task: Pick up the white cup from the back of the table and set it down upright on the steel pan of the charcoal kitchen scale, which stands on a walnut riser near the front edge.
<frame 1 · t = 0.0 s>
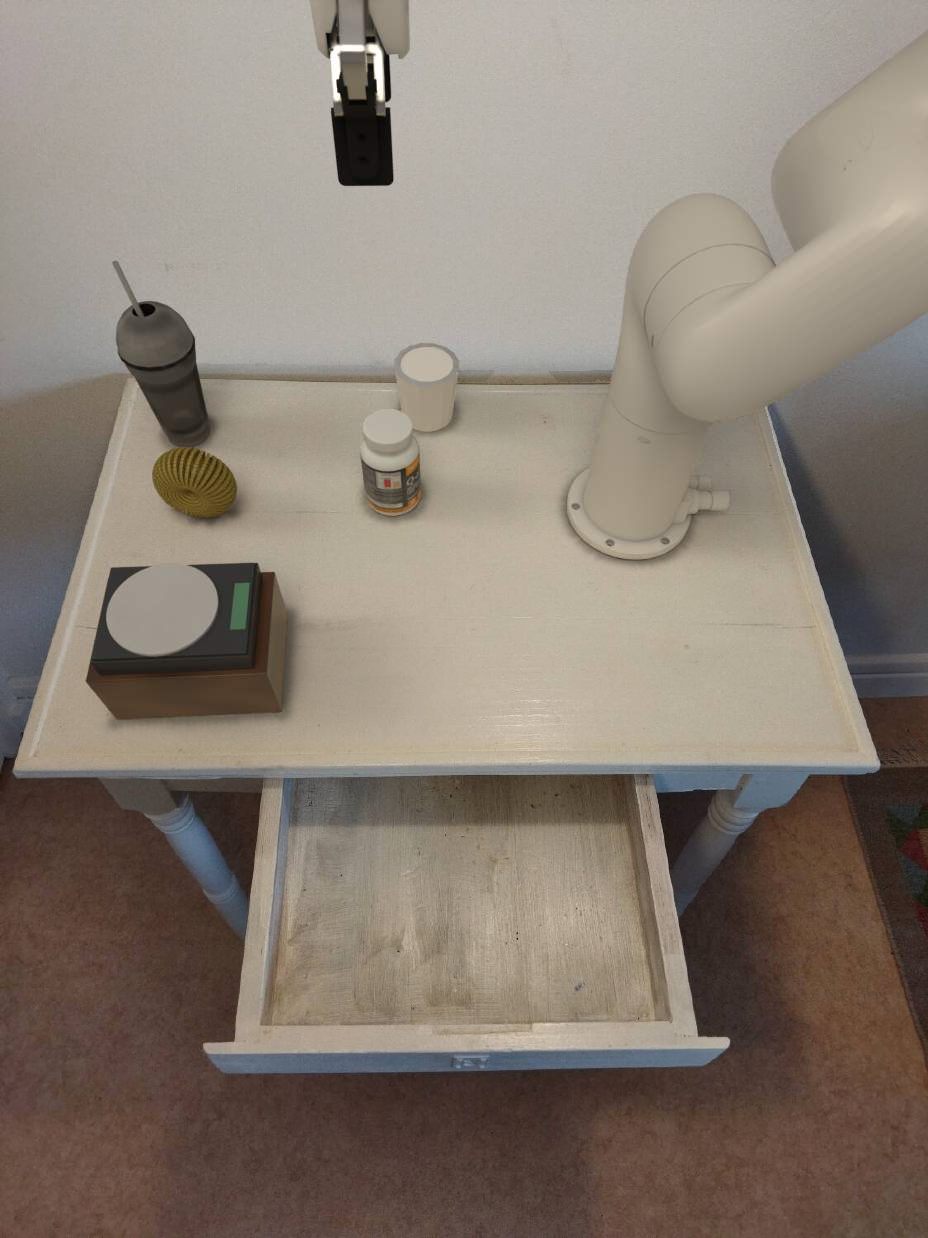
hand: (366, 139, 48), 37 cm above the table, tool pointing down, fingers open, 9 cm apart
pill bottle: (393, 498, 81), on the table
white cup: (427, 415, 88), on the table
walnut riser: (205, 665, 70), on the table
kitchen scale: (184, 623, 64), resting on walnut riser
sculpture: (206, 511, 80), on the table
beverage cup: (189, 434, 85), on the table
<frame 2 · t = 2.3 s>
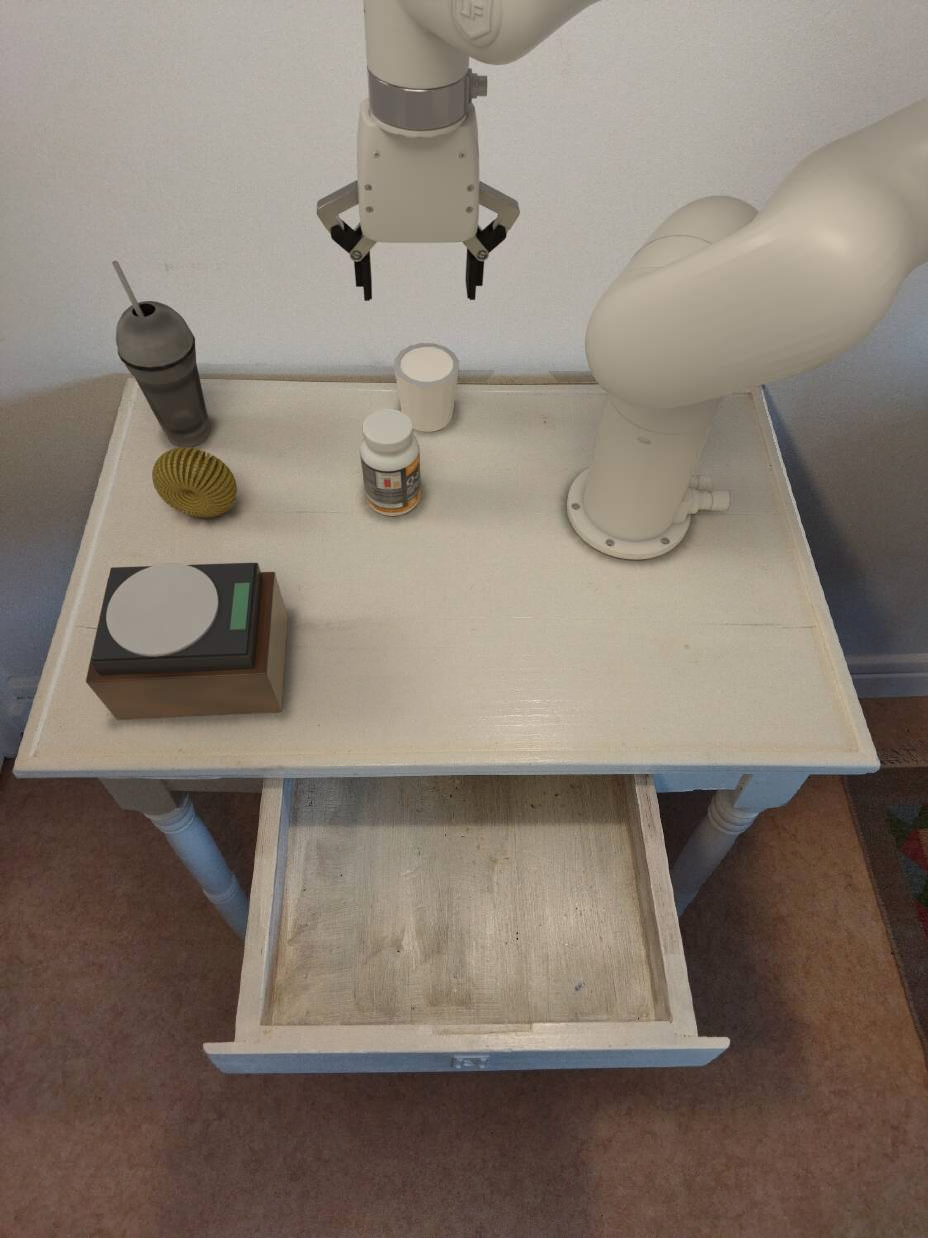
hand: (419, 291, 74), 16 cm above the table, tool pointing down, fingers open, 9 cm apart
nothing on the table moved.
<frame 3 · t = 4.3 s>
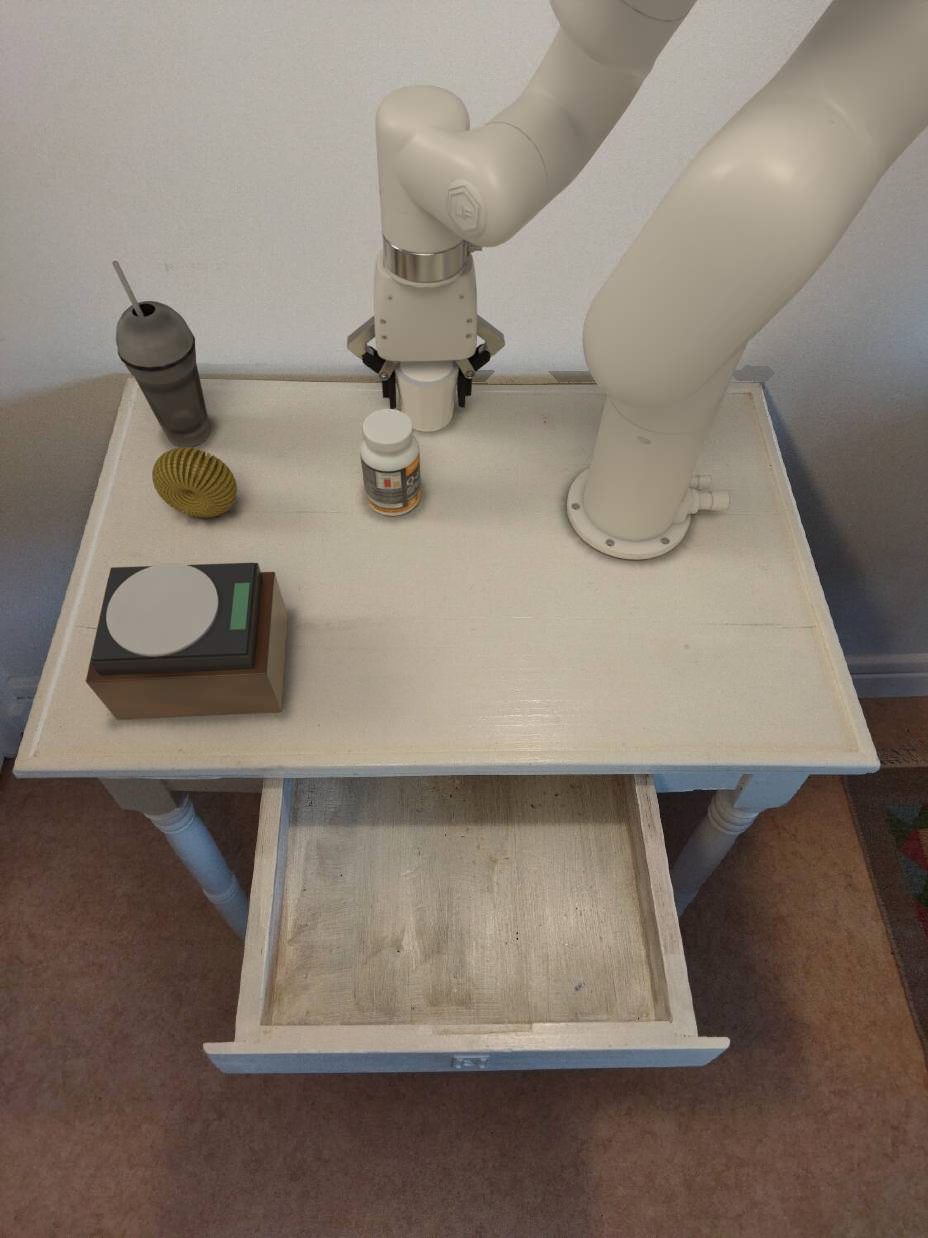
hand: (427, 398, 86), 2 cm above the table, tool pointing down, fingers closed on white cup, 6 cm apart
white cup: (427, 415, 88), on the table, touching gripper
everything else where it was.
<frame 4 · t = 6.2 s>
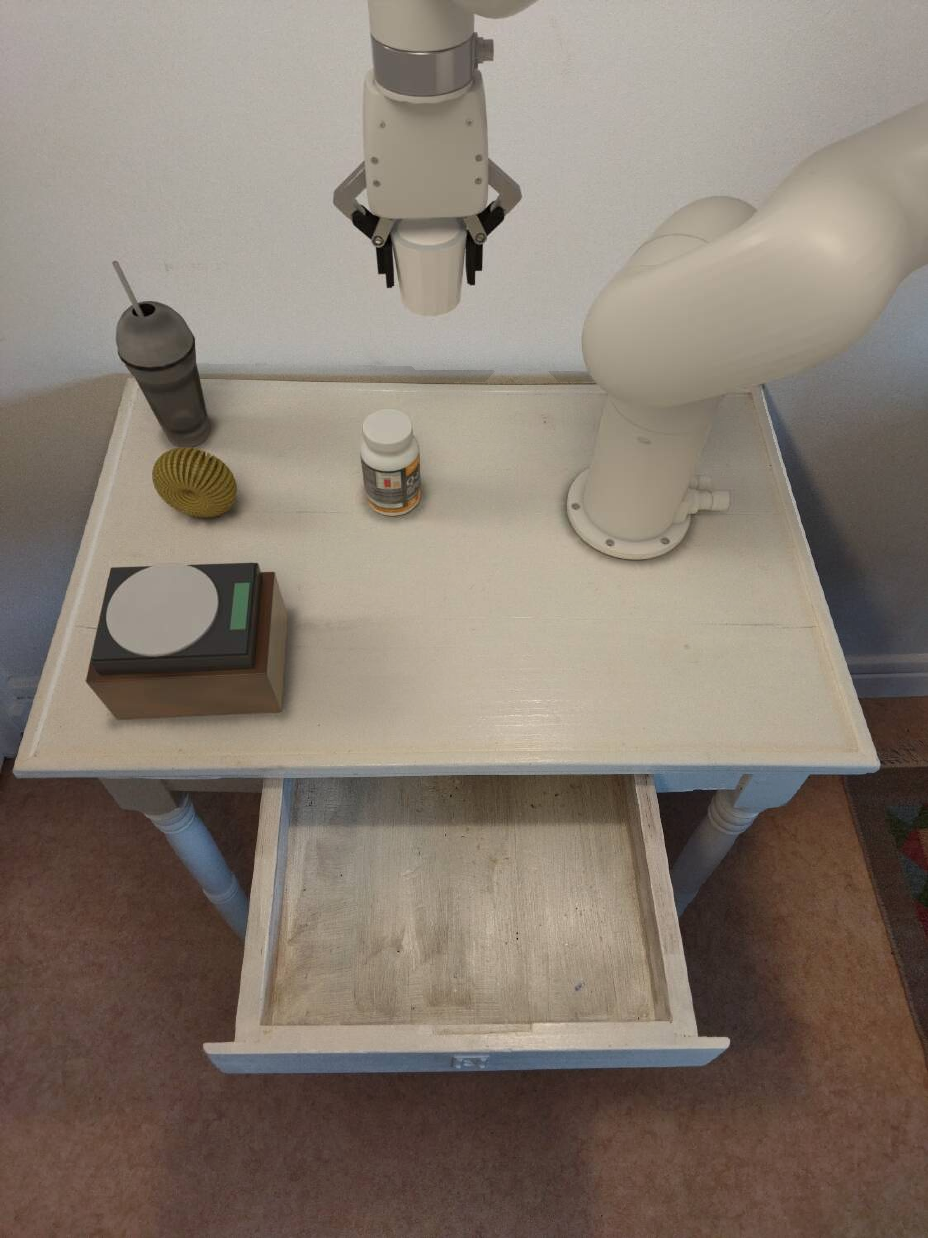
hand: (430, 276, 73), 17 cm above the table, tool pointing down, fingers closed on white cup, 6 cm apart
white cup: (431, 299, 75), point 15 cm above the table, touching gripper
everything else where it was.
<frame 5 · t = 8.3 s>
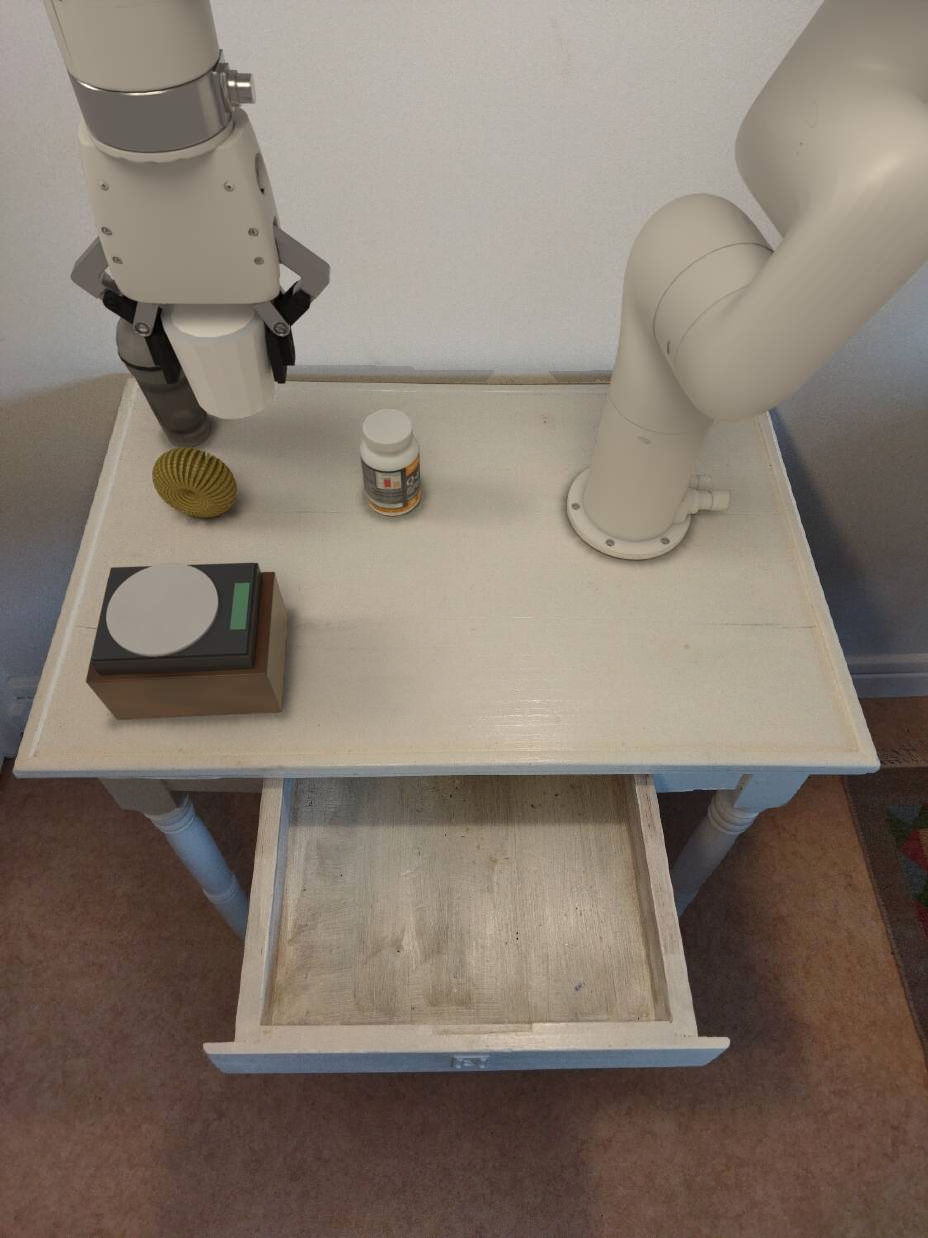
hand: (228, 369, 56), 24 cm above the table, tool pointing down, fingers closed on white cup, 6 cm apart
white cup: (236, 394, 58), point 22 cm above the table, touching gripper
everything else where it was.
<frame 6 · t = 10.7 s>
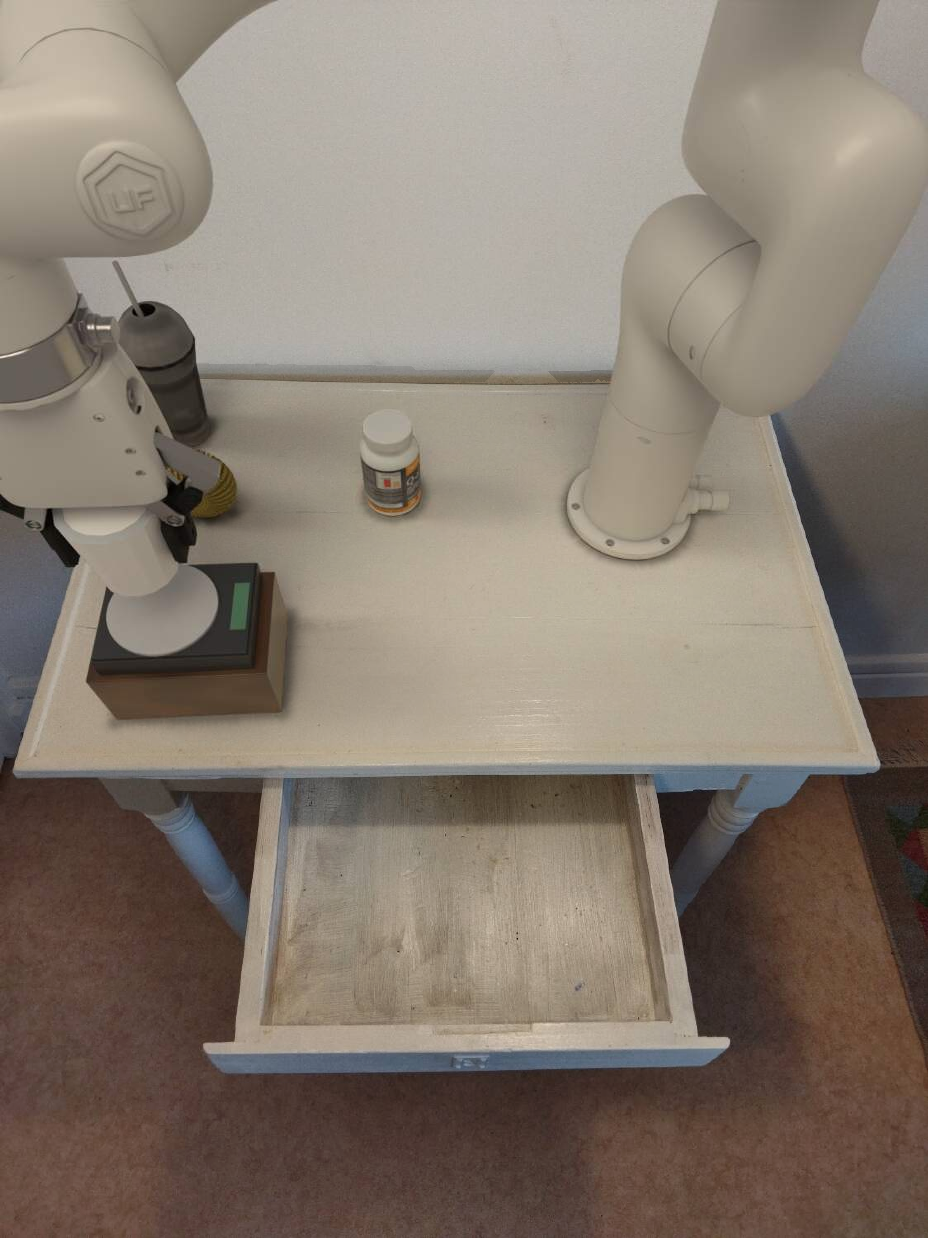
hand: (130, 548, 56), 17 cm above the table, tool pointing down, fingers closed on white cup, 6 cm apart
white cup: (141, 566, 58), point 15 cm above the table, touching gripper
everything else where it was.
when the fingers open (12 cm above the table, at t = 12.6 s): white cup stays where it is, resting on kitchen scale.
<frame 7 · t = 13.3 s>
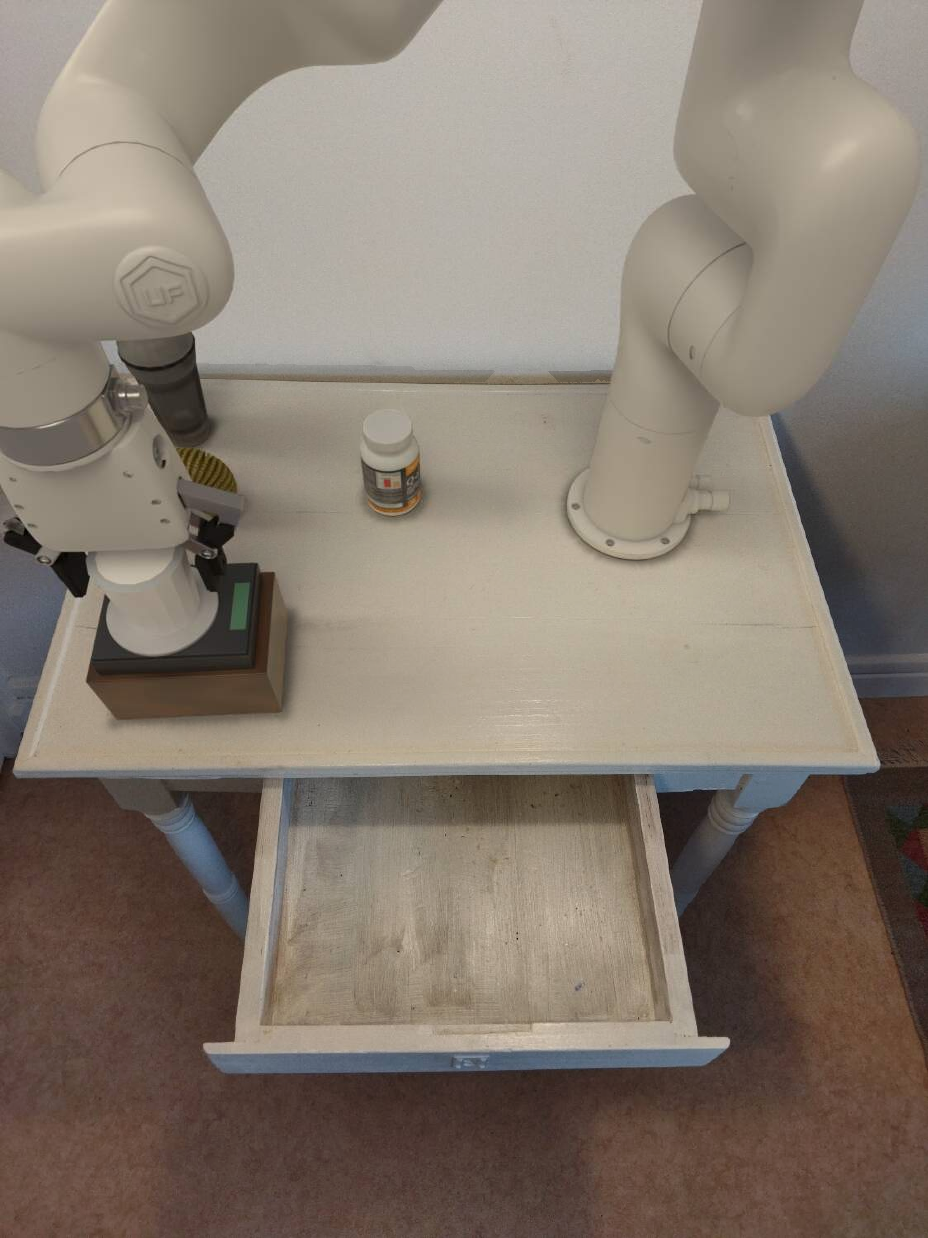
hand: (150, 579, 59), 13 cm above the table, tool pointing down, fingers open, 9 cm apart
white cup: (164, 607, 62), point 9 cm above the table, touching kitchen scale
everything else where it was.
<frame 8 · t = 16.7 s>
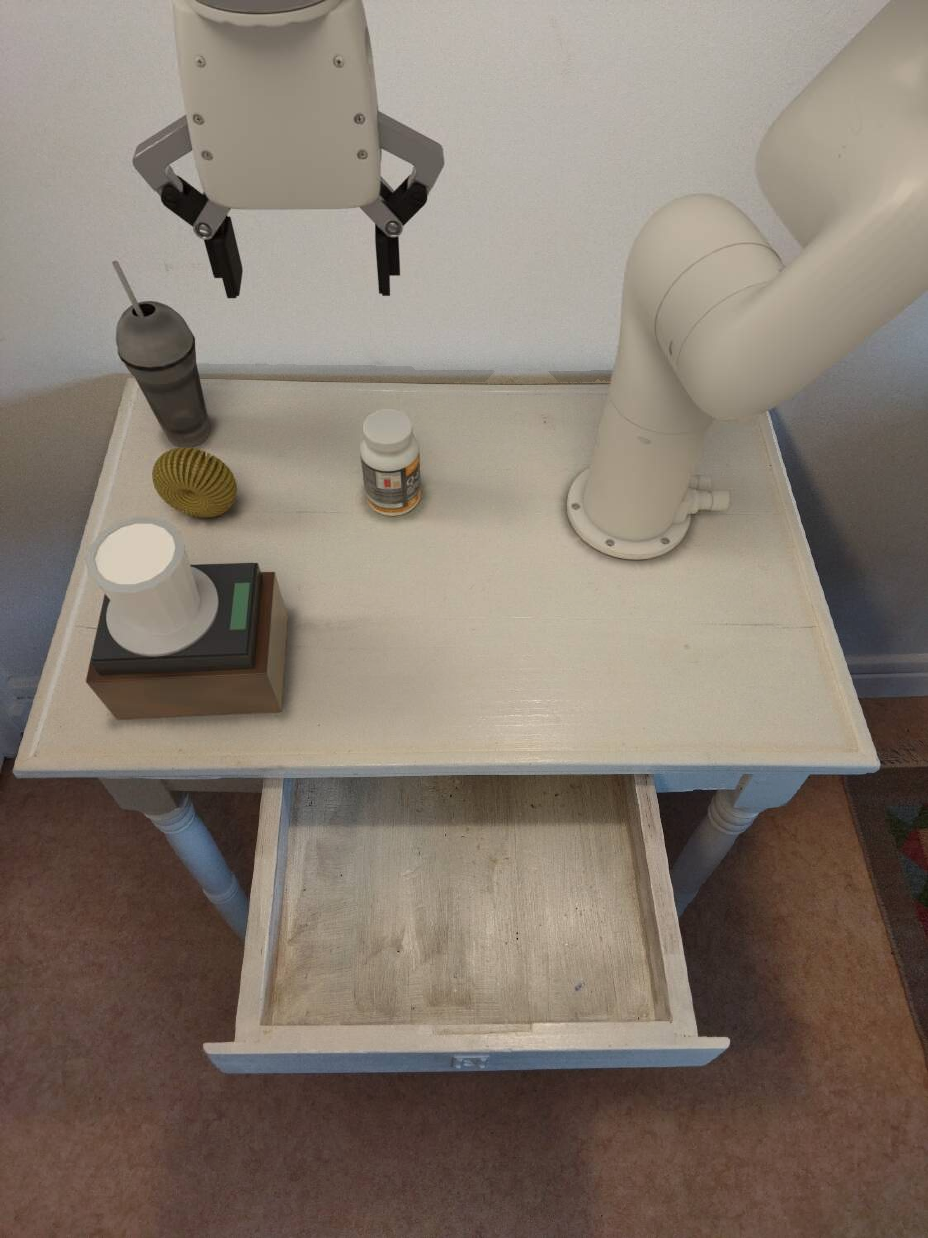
hand: (310, 283, 51), 30 cm above the table, tool pointing down, fingers open, 9 cm apart
nothing on the table moved.
at the end: white cup 0.1 cm from the target spot on the kitchen scale, point 2.4 cm above the kitchen scale's base; white cup tilted 0°; the gripper is holding nothing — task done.
